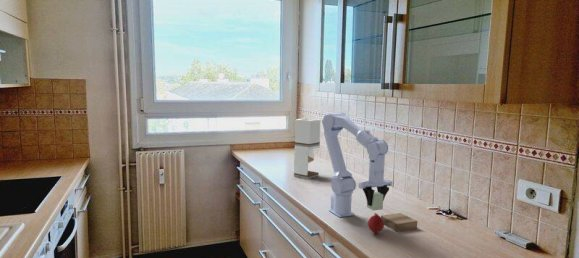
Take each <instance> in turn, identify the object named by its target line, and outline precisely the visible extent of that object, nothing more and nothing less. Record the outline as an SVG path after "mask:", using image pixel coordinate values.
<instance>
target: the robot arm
mask: <svg viewBox="0 0 579 258" xmlns="http://www.w3.org/2000/svg"><path fill="white" fill-rule="evenodd" d="M321 123H322V127H323V136H324V139H325V144H326V146H327V147H326V148H327V152H328V155H329V159H330V163H331V166H332V168H333V169H332V170H333V175H332V176H331V177H330V180H331V185H330V186H331V190H332V193H331V196H330V208H328V211H329V212H330V213H332V214H334V215H335V216H337V217H338V218H341V217H343V218H344V217H351V216H355V215H356V213H354V212H352V199H353V198H352V196H353V193H354V191H355V189H356V187H357V183H356V181H355V179H354V177H353V175H352V173H351V172H350V171H349V170H347V167H346V163H345V160H344V155H343V151H342V148H341V145H340V142H339V138H338V135H339V133H340V132H341V131H343V129H344V130H346V131H347V132H349V133H351V134H352V135H353V136H355V138H356V141H357V142H358V143H359V144H361V146H363V148H365V149H366V152H367V153H368V159H369V164H368V165H369V168H368V180H366V181H362V182H358V189H361V190H362V191H363V193H364V196H365V199H366V205H367V204H368V205H369V206H372V201H373V194H374V192H379V193H381V194H383V202H384V200H385V197H386V195H387V194H388V193H389V191H390V187H393V180H388V179H387V180H384V177H385V161H386V160H385V159H386V157H385V156H386V155H387V153H388V152H389V145H388V143H387V142H386V141H385V140H384V139H380V140H379V138H378V137H377V136H374V134H372V133H370V130H368V129H361V128H360V127H359V126H358V125H357V124H355V123H354V122H353V121H352V120H351V119H350V118H349V115H348V114H347V115H346V113H344V112H340V113H339V112H337V113H334V112H333V113H329V112H328V113H325V114H324V116H323V118H322V119H321ZM373 188H376V189H377V190H374V189H373Z"/></svg>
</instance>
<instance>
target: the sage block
mask: <svg viewBox="0 0 579 258" xmlns="http://www.w3.org/2000/svg"><path fill="white" fill-rule="evenodd" d="M366 208H367V209H370V210H371V211H380V210H383V208H384V201H383V194H381V193H379V192H378V191H374V194H373V201H372V206H369V205H368V204H367V203H366Z"/></svg>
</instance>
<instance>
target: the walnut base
mask: <svg viewBox="0 0 579 258" xmlns="http://www.w3.org/2000/svg"><path fill="white" fill-rule="evenodd" d="M380 217H381V218H382V220H383V222H384V226H385V227H388V228H390V229H391V230H393V231H395V232H396V233H397V232H402V231H409V230H415V229H418V220H416V219H414V218H412V217H410V216H408V215H406V214H404V213H402V212H399V213H391V214H390V213H389V214H383V215H380Z"/></svg>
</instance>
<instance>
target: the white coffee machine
mask: <svg viewBox="0 0 579 258" xmlns="http://www.w3.org/2000/svg"><path fill="white" fill-rule="evenodd" d="M294 121H295V125H294V155H293V157H294V158H293V159H294V160H293V162H294V163H293V164H294V166H293V177H295V176H296V177H297V178H301V179H305V178H306V180H310V179H313V178H316V177H315V176H317V177H319V176H318V175H319V172H318V171H317V172H316V171H311V170H309V169H308V168H309V163H311V162H313V161H315V160H314V159H315V149H319V148H321V147H320V145H321V143H320V142H321V122H322V119H312V120H311V119H309V120H308V117H307V118H297V119H295V120H294ZM296 177H295V178H296ZM312 177H313V178H312Z"/></svg>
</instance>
